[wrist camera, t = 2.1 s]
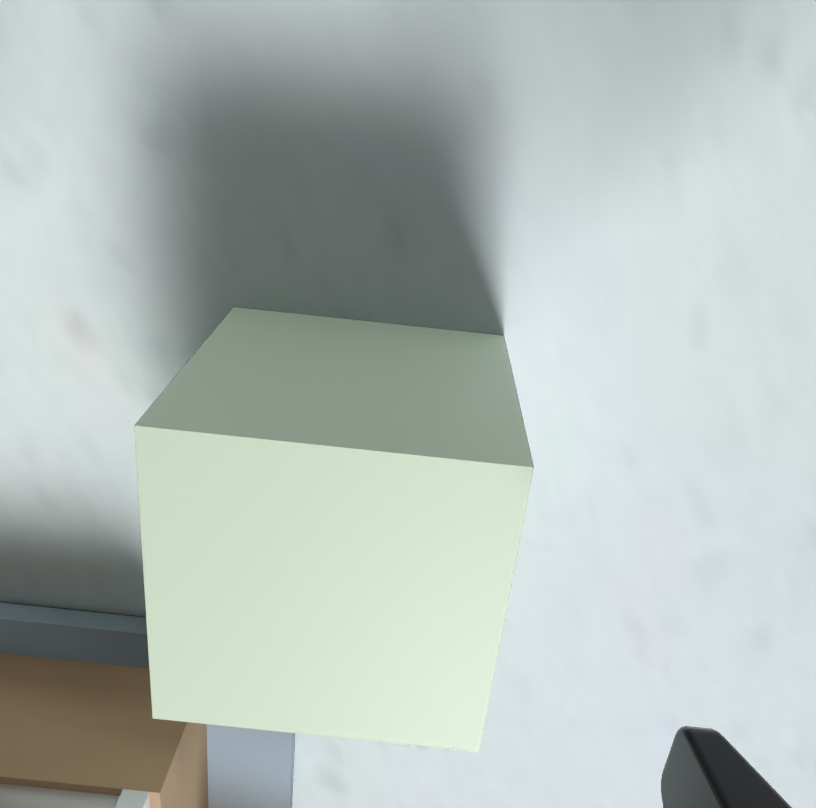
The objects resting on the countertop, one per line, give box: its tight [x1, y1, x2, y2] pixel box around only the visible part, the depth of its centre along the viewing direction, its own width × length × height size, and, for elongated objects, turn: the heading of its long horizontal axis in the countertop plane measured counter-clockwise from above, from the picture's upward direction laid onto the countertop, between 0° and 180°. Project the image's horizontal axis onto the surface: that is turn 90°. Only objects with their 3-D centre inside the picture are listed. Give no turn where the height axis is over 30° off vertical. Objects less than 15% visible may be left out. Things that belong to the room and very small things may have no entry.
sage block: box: [134, 307, 534, 752], centre depth 13 cm, size 5×5×5 cm
